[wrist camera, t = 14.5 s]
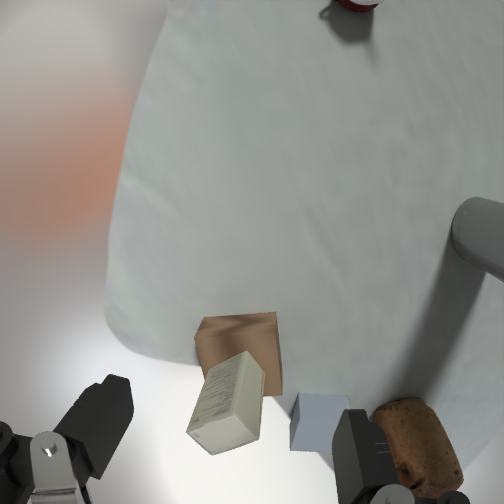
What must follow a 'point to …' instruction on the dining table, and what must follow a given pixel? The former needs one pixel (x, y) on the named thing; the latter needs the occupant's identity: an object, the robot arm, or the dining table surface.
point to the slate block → (316, 421)
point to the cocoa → (360, 4)
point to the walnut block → (242, 344)
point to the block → (419, 448)
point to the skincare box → (229, 405)
